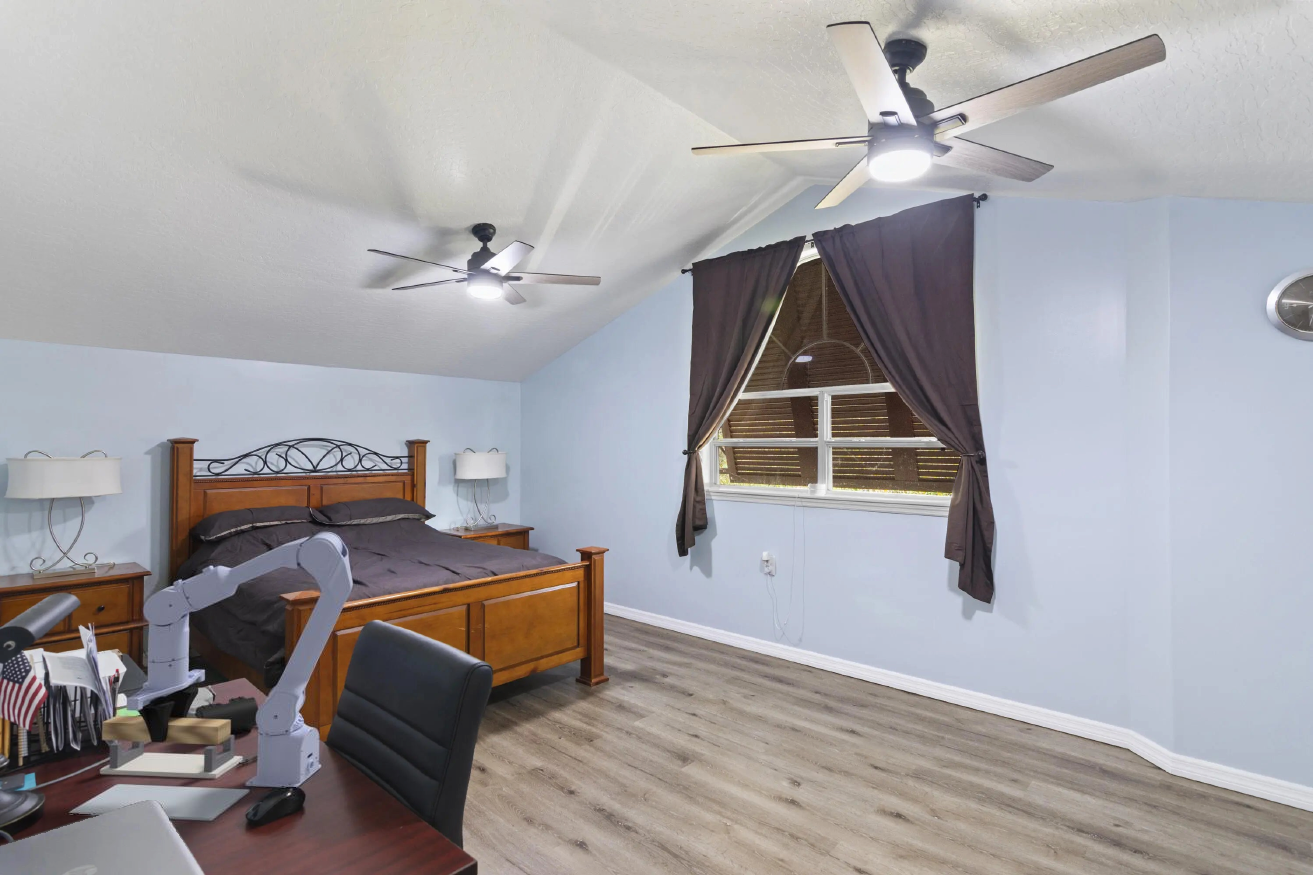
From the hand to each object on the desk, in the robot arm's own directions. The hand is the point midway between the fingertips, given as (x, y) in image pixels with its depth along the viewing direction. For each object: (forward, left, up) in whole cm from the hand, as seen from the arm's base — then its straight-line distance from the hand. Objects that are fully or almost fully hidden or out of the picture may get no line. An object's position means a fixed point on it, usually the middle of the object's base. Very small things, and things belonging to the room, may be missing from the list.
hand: (167, 736), depth 116 cm
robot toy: (+20, -30, -10) cm, 38 cm away
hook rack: (+6, -8, -9) cm, 14 cm away
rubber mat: (-2, +4, -9) cm, 10 cm away
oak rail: (0, 0, 0) cm, 0 cm away
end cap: (+6, -22, -10) cm, 25 cm away
